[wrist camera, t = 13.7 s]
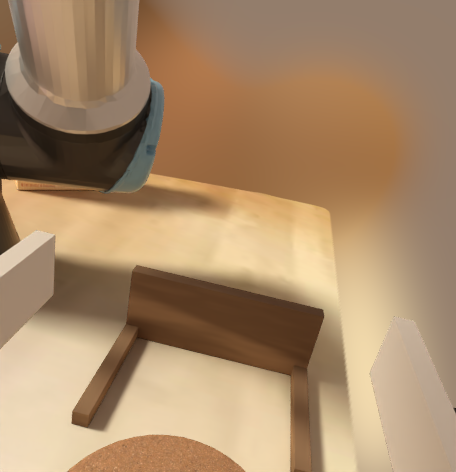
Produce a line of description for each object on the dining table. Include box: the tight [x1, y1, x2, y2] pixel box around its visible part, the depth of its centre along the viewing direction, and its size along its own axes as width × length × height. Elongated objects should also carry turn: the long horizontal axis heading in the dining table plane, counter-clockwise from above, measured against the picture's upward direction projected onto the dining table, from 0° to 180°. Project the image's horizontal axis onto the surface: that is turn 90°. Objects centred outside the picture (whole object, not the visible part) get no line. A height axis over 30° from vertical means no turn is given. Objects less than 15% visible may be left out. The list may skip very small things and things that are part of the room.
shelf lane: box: [72, 265, 324, 472], centre depth 35 cm, size 12×17×7 cm
